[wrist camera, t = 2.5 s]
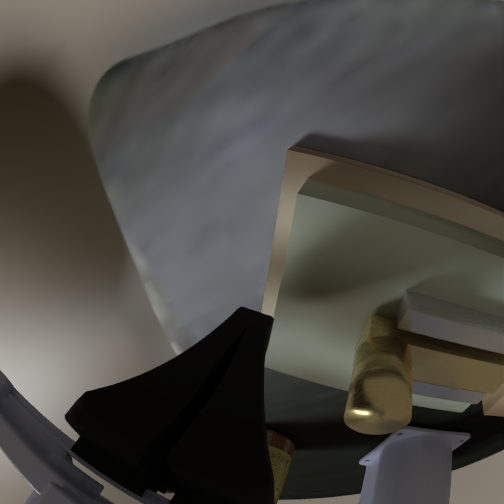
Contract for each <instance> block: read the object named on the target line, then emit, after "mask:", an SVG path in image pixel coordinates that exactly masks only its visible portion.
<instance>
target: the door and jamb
mask: <svg viewBox="0 0 504 504" xmlns="http://www.w3.org/2000/svg"><path fill="white" fill-rule="evenodd" d="M405 290H410V291H413V292H417V293H420V294H424V295H427V296H431V297H434V298H437V299H441V300H444V301H448V302H451V303H455V304H458V305H461V306H465V307H468V308H472V309H475V310H479V311H482V312H485V313H489V314H492V315H495V316H499V317H502V318H504V213H503V212H501V211H499V210H497V209H494V208H492V207H490V206H487V205H485V204H483V203H480V202H478V201H476V200H473V199H471V198H468V197H466V196H463V195H460V194H458V193H455V192H453V191H450V190H447V189H445V188H442V187H439V186H436V185H434V184H431V183H428V182H425V181H422V180H419V179H416V178H413V177H410V176H407V175H404V174H401V173H397V172H394V171H391V170H388V169H384V168H381V167H377V166H374V165H370V164H367V163H363V162H360V161H356V160H352V159H348V158H344V157H340V156H336V155H332V154H328V153H324V152H320V151H315V150H311V149H306V148H302V147H297V146H292V147H290V148H289V149H288V150H287V156H286V163H285V170H284V176H283V183H282V190H281V196H280V203H279V209H278V215H277V222H276V228H275V234H274V241H273V247H272V253H271V259H270V265H269V271H268V277H267V283H266V289H265V295H264V301H263V307H262V312H261V313H263V314H266V315H270V316H272V317H273V318H274V323H273V327H272V332H271V336H270V341H269V345H268V349H267V352H266V355H265V365H264V367H267V368H270V369H273V370H276V371H279V372H282V373H285V374H289V375H292V376H295V377H298V378H302V379H305V380H309V381H312V382H316V383H319V384H323V385H327V386H330V387H334V388H338V389H342V390H346V391H349V388H350V382H351V376H352V370H353V360H354V354H355V347H356V344H357V342H358V340H359V338H360V336H361V334H362V332H363V330H364V328H365V326H366V324H367V322H368V320H369V318H370V315H371V314H374V315H377V316H381V317H385V318H388V319H392V320H396V321H397V306H398V304H399V302H400V300H401V298H402V296H403V294H404V292H405ZM482 404H483V412H484V415H490V416H503V417H504V383H503V384H502V385H501V386H500V387H499V388H498V389H497V390H496V391H495V392H494V393H493V394H491V393H488V394H487V395H486V396H485V397H484V398H483V399H482ZM412 405H415V406H421V407H427V408H433V409H440V410H447V411H454V412H463V411H464V410H465V409H466V408H467V407H469V406H470V405H471V403H464V402H457V401H450V400H444V399H438V398H432V397H426V396H421V395H416V394H412Z"/></svg>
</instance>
